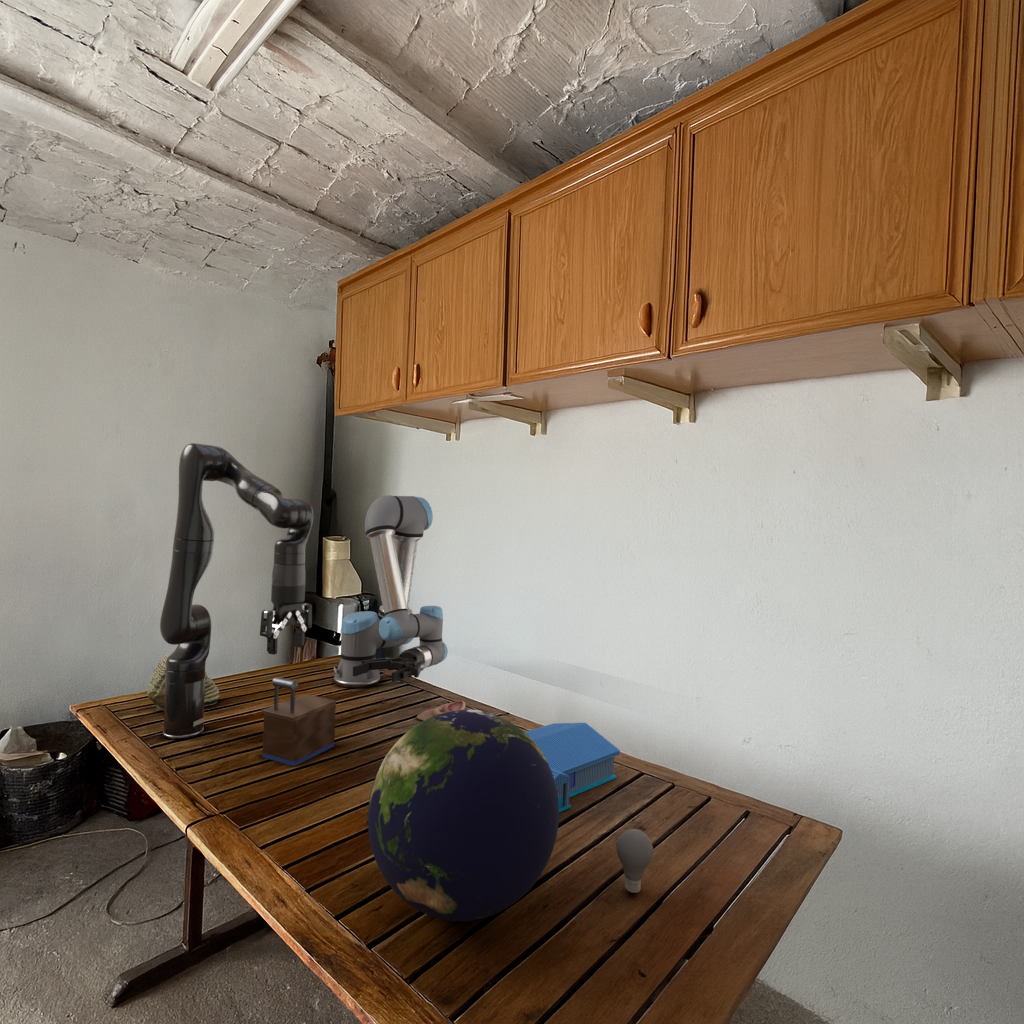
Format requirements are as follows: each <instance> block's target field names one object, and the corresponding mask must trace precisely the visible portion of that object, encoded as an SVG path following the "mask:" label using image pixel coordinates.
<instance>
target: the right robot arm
mask: <svg viewBox="0 0 1024 1024" xmlns="http://www.w3.org/2000/svg"><path fill="white" fill-rule="evenodd" d="M433 515H434V514H433V510H432V506H431V505H430V503H429V502H428V501H427V500H426V499H425V498H424V497H421V496H416V495H415V496H414V495H389V494H387V495H383V496H380V497H378V498H377V499H375V500H374V501H373V502H372V503H371V505H370V506H369V507H368V509H367V512H366V515H365V520H364V532H365V537H366V539H367V540H369V541H370V547H371V552H372V558H373V562H374V567H375V568H374V569H375V574H376V578H377V584H378V588H379V593H380V599H381V604H382V605H380V606H379V610H378V613H377V612H375V611H371V610H365V611H355V612H351V613H349V614H347V615H345V616H344V618H342V622H341V628H340V632H341V637H340V638H341V641H340V659H339V662H338V666H337V668H336V667H335V666H333V671H334V673H335V674H334V677H333V683H334V684H335V685H336V686H338V687H341V688H348V689H364V688H369V687H374V686H377V685H378V684H380V682H381V674H380V670H387V671H393V672H391V683H397V682H399V681H401V680H405V679H407V678H412V677H413V678H416V679H417V678H419V676H420V674H421V672H422V671H424V670H425V669H427V668H429V667H432V666H437V665H439V664H440V663H442V662H444V661H445V660H446V659H447V656H448V655H449V654H448V653H449V651H448V650H449V649H448V646H447V644H446V643H445V642H444V641H443V623H444V612H443V608H442V607H441V606H438V605H424V606H421V607H420V609H419V613H413V609H412V608H411V606H410V600H411V592H412V585H413V581H414V580H413V579H414V572H415V566H416V557H417V551H418V542H419V541H420V540H421V539H423V537H424V532H425V531H427V530H428V529H430V527H431V526H432V525H433V520H434V519H433V518H434V517H433ZM417 638H418V639H419V645H415V646H413V647H410V648H408V649H403V650H402V651H401V652H400V653H399V655H398V656H395V657H391V656H388V655H387V656H384V657H379V658H377V655H376V654H377V650H378V649H384V648H385V649H386V648H393V647H401V646H403V645H408V644H410V643H411V642H412V641H413V640H414V639H417Z"/></svg>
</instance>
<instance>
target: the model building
mask: <svg viewBox="0 0 1024 1024" xmlns="http://www.w3.org/2000/svg"><path fill="white" fill-rule="evenodd" d="M524 732H525V733H526V734H527V735H528V736H529V737H530V738H531V739H532V740H533V741H534V742H535V743H536V744H537V746H538V747H539V748H540V750H541V751H542V753H543V754H544V756H545V758H546V760H547V761H548V764H549V766H550V769H551V771H552V774H553V777H554V780H555V784H556V788H557V793H558V801H559V813H562V812H563V811H566V810H569V809H571V808H572V805H571V804H570V798H572V797H575V796H577V795H580V794H582V793H585V792H587V791H589V790H591V789H594V788H597V787H599V786H601V785H603V784H605V783H609V782H610V781H613V780H615V779H617V778H618V776H617V775H616V774H614V771H615V770H614V768H615V767H614V765H615V757H617V756H620V754H621V750H620V749H619V748H618V747H617V746H616V745H614V744H613V743H612V742H611V741H610V740H607V738H605V737H604V736H603V735H601V734H600V733H599V732H598V731H597V730H596V729H594V728H593V727H592V726H591V725H589V724H588V723H587V722H560V723H559V722H558V723H555V722H554V723H550V724H546V725H544V726H543V725H542V726H540V727H537V728H533V729H530V730H526V731H524Z"/></svg>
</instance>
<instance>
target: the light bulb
mask: <svg viewBox="0 0 1024 1024" xmlns="http://www.w3.org/2000/svg"><path fill="white" fill-rule="evenodd" d="M615 849H616V854H617V857H618V859H619V861H620V863H621V865H622V867H623V873H624V874H623V875H624V876H625V878H624V888H625V890H627V891H628V892H630V893H634V894H635V893H639V892H640V891H641V889H642V887H641V886H642V879H643V877H644V875H645V871H646V868H647V867H648V866H649V864H650V863H651V861H652V859H653V855H654V847H653V843H652V841H651V838H649V836H648V835H647V834H646V833H645V832H643V831H642V830H641V829H636V828H629V829H627V830H625V831H623V832H622V833H621V834H620V835H619V837H618V839H617V841H616V847H615Z"/></svg>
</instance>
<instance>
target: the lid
mask: <svg viewBox="0 0 1024 1024" xmlns="http://www.w3.org/2000/svg"><path fill="white" fill-rule="evenodd" d="M271 684H272V686H273V687H274V695H273V696H274V697H273V705H271V706H268V707H265V708H262V709H261V711H260V713H261V715H263V716H264V715H268V716H272V717H277V718H281V719H285V720H289V721H293V722H294V721H296V720H299V719H301V718H303V717H306V716H308V715H311V714H313V713H316V712H318V711H320V710H323V709H325V708H328V707H330V706H333V705H335V704H336V705H337V700H335V699H331V698H326V697H321V696H317V695H312V694H308V693H304V694H301V695H299V696H296V689H297V688H298V686H299V683H298V681H297V680H293V679H289V678H283V677H280V676H275V677H274V678H272V682H271ZM280 688H282V689H287V690H290V699H288V700H284V701H283V702H280V703H279V695H280V694H279V693H280Z"/></svg>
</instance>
